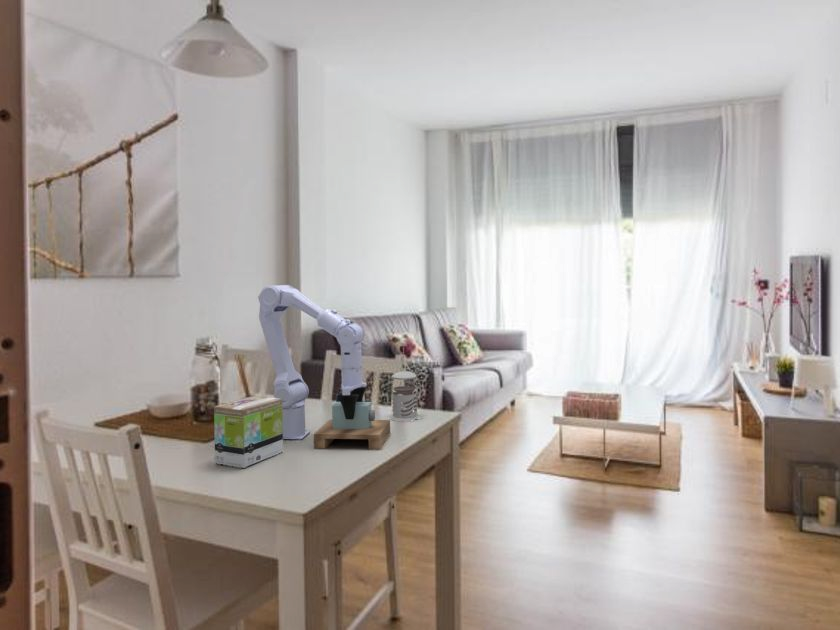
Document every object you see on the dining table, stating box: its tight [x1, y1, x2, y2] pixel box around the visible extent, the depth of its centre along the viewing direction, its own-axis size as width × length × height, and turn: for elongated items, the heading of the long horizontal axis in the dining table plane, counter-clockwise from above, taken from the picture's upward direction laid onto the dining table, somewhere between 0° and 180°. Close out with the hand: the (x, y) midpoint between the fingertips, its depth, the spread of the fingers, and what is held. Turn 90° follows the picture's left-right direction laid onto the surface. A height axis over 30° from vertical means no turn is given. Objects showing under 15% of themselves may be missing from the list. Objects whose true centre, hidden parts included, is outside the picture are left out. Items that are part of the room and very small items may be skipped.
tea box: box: [213, 395, 284, 469], centre depth 152 cm, size 15×10×15 cm, turn 155°
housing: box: [331, 401, 376, 429], centre depth 166 cm, size 11×5×6 cm, turn 83°
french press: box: [390, 340, 422, 422], centre depth 192 cm, size 10×12×25 cm
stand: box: [313, 419, 391, 450], centre depth 166 cm, size 18×16×4 cm
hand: (353, 415), depth 166 cm, fingers open, 7 cm apart
